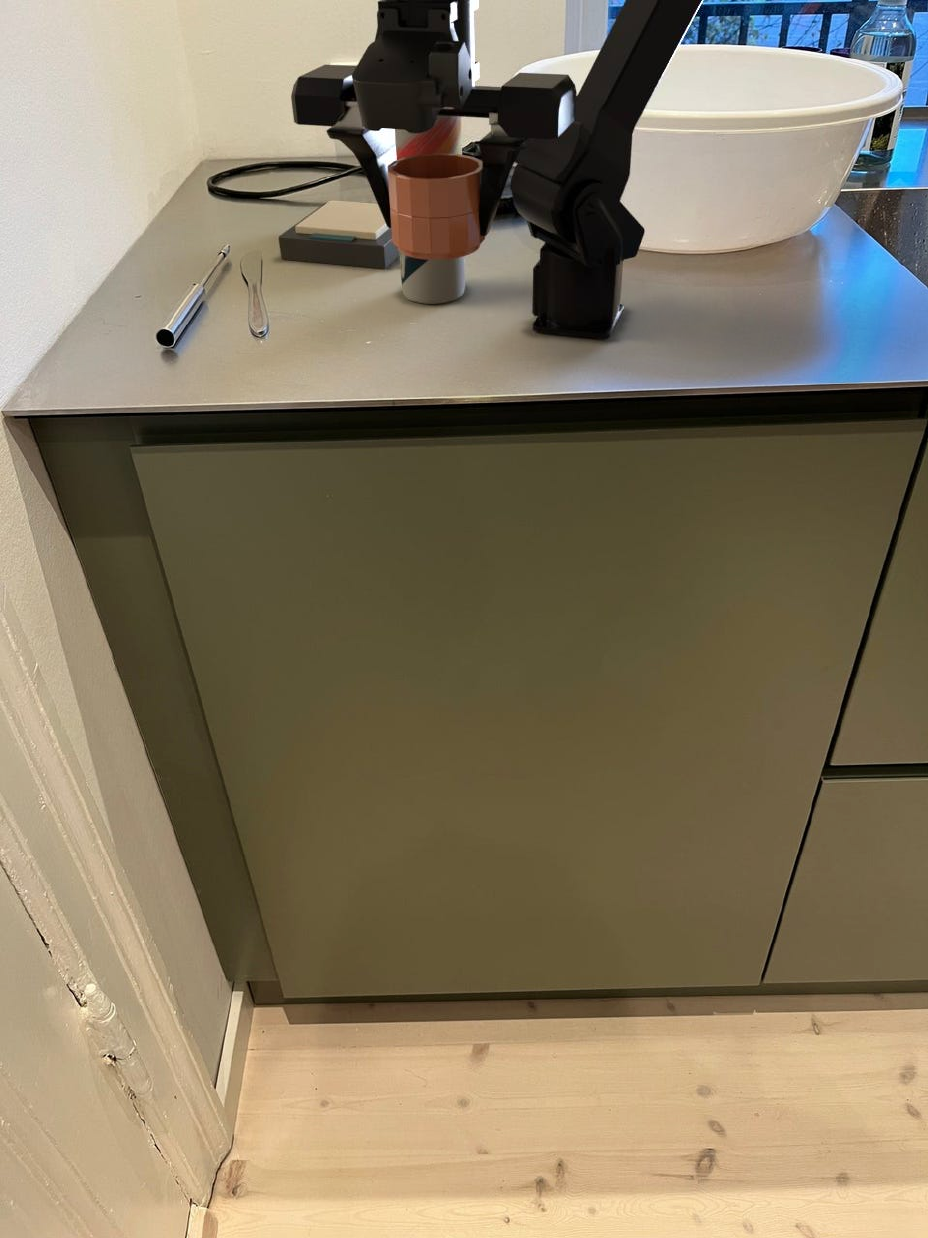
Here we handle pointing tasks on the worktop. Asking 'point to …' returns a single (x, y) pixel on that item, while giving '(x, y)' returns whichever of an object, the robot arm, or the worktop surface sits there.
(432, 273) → the lotion bottle
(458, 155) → the plant pot
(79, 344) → the worktop surface
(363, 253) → the scale
